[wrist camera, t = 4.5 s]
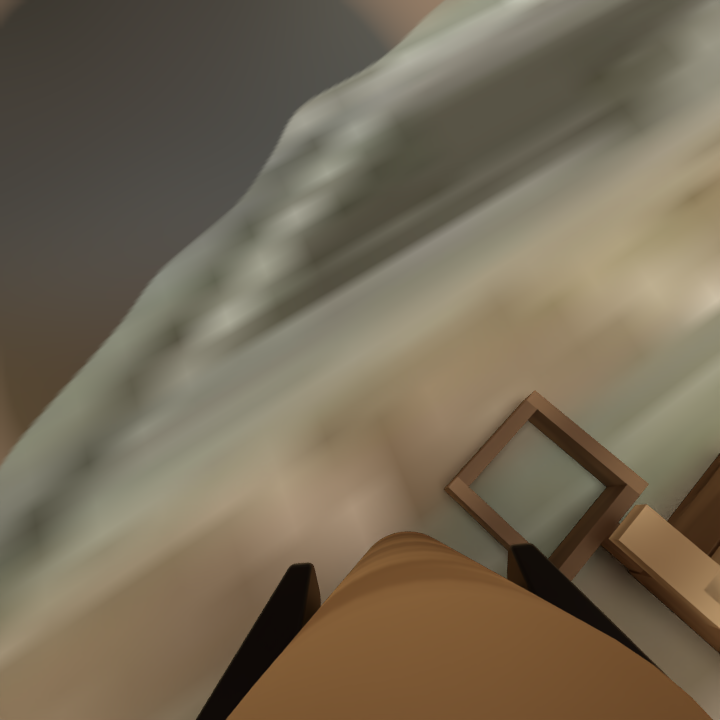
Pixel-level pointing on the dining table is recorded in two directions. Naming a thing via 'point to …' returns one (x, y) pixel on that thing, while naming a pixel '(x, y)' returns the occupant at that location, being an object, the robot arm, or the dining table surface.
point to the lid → (672, 561)
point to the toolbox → (596, 503)
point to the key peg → (453, 652)
